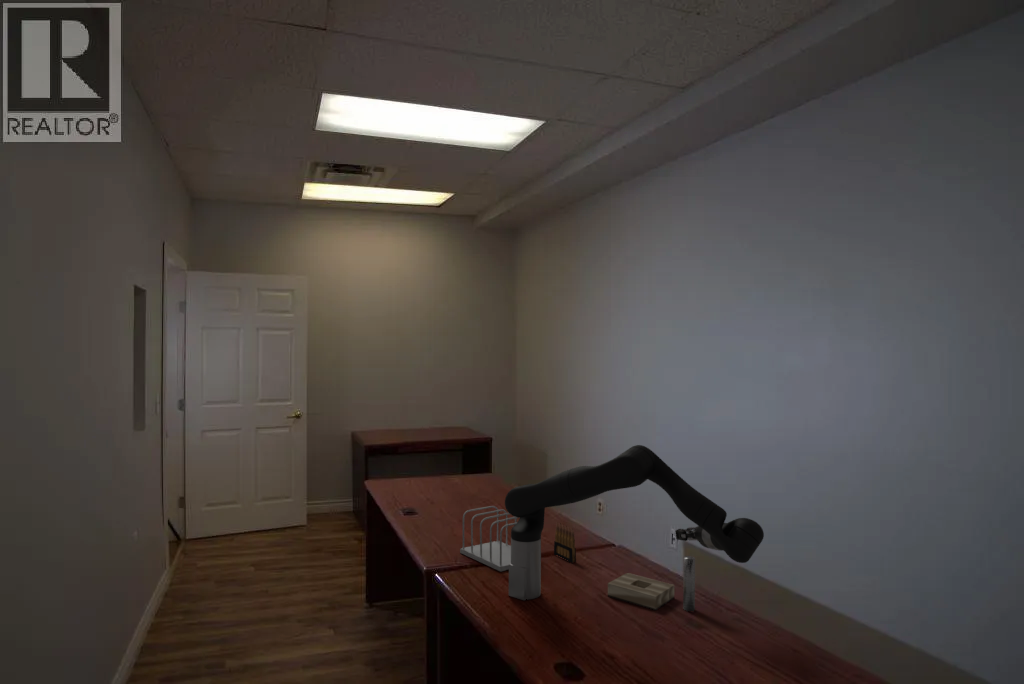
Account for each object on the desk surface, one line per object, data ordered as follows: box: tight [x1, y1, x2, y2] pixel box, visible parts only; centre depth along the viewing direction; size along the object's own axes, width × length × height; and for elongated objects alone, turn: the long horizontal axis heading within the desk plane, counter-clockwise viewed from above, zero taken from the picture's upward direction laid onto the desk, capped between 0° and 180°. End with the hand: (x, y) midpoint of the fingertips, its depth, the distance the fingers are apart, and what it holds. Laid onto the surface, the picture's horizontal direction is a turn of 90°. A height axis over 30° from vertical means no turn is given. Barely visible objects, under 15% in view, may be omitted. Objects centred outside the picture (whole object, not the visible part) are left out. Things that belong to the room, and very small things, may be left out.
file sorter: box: [459, 505, 520, 572], centre depth 233 cm, size 25×17×16 cm
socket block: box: [607, 572, 675, 611], centre depth 197 cm, size 12×16×4 cm
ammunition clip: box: [553, 521, 577, 564], centre depth 232 cm, size 11×2×12 cm, turn 33°
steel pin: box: [682, 555, 696, 612], centre depth 189 cm, size 3×3×15 cm
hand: (693, 531), depth 190 cm, fingers open, 8 cm apart
